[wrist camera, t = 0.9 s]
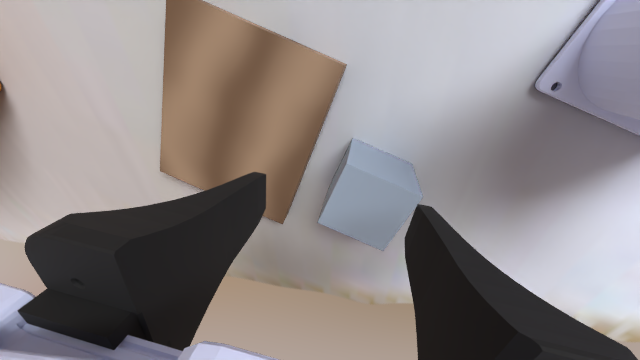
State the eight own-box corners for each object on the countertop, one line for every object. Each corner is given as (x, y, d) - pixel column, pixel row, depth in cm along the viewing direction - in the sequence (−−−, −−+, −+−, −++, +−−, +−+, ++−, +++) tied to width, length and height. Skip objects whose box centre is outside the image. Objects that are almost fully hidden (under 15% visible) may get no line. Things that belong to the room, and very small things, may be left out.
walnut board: (346, 64, 17) (344, 65, 15) (287, 214, 24) (282, 224, 22) (183, -9, 16) (166, -14, 15) (171, 164, 23) (160, 170, 22)
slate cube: (411, 163, 19) (423, 197, 15) (381, 210, 22) (382, 251, 17) (352, 137, 19) (346, 163, 15) (328, 187, 21) (317, 222, 17)
